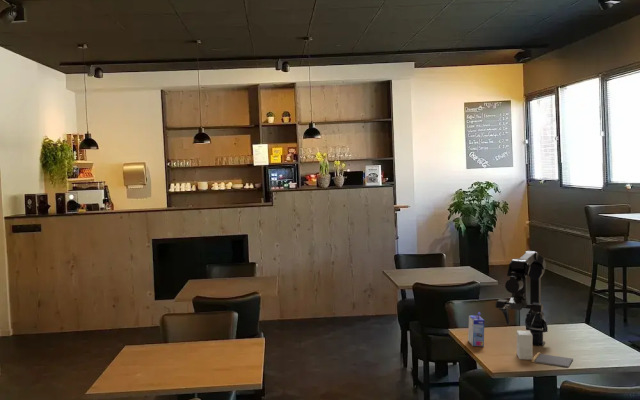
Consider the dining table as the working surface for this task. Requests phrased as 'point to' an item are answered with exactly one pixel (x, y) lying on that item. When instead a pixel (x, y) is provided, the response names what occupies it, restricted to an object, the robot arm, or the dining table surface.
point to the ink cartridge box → (476, 330)
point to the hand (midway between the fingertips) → (519, 325)
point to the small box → (525, 345)
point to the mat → (552, 360)
